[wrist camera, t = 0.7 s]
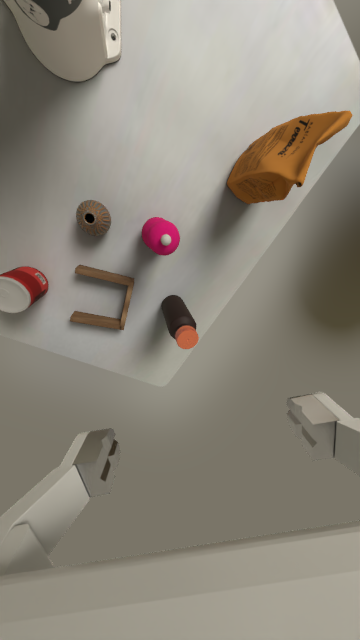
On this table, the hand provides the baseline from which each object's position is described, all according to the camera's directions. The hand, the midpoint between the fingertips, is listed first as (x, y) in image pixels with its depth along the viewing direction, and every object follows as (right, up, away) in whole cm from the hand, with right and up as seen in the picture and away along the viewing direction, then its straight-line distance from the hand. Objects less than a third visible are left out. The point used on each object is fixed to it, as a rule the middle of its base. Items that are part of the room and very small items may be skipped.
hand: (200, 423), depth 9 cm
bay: (-22, +11, +45) cm, 52 cm away
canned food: (-38, +15, +40) cm, 58 cm away
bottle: (-3, +9, +51) cm, 52 cm away
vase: (-21, +29, +37) cm, 51 cm away
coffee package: (+17, +41, +39) cm, 59 cm away
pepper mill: (-7, +27, +41) cm, 50 cm away
